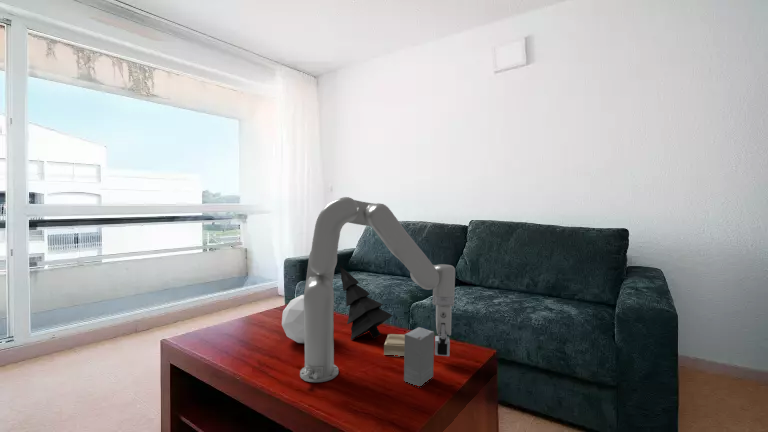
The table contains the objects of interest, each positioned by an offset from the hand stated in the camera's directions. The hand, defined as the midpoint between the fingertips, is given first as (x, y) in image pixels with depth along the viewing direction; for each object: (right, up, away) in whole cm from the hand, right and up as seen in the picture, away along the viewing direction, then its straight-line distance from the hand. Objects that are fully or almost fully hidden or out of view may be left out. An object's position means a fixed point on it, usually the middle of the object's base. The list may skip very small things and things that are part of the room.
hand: (442, 350), depth 128 cm
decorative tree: (-30, -4, +29) cm, 42 cm away
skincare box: (-9, -5, -12) cm, 16 cm away
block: (0, -1, 0) cm, 1 cm away
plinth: (-14, -4, +12) cm, 19 cm away
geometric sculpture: (-53, -5, +22) cm, 57 cm away
